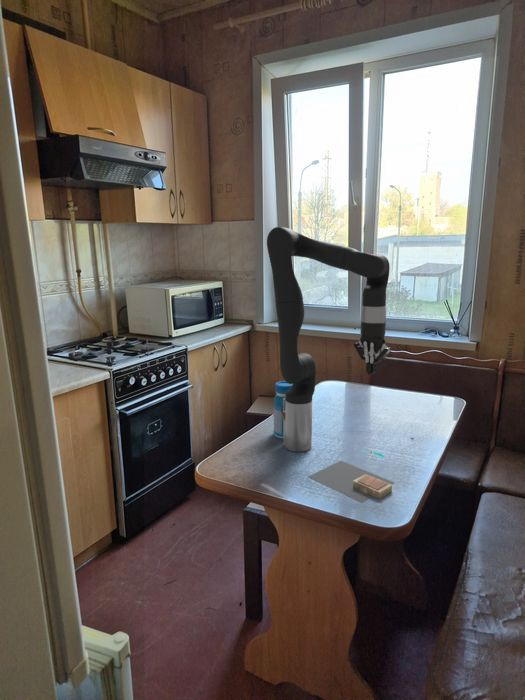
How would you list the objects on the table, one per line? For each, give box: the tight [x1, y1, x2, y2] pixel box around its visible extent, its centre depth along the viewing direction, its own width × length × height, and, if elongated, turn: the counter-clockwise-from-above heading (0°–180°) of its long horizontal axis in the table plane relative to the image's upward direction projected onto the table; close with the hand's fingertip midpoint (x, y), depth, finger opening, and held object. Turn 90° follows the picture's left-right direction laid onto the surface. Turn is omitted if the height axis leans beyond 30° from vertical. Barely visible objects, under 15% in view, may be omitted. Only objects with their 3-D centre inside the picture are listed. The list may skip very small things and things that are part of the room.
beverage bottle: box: [272, 380, 293, 439], centre depth 173 cm, size 8×8×20 cm
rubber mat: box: [307, 460, 395, 504], centre depth 139 cm, size 20×16×1 cm
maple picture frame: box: [353, 474, 393, 500], centre depth 134 cm, size 2×6×9 cm
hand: (371, 373), depth 149 cm, fingers closed
